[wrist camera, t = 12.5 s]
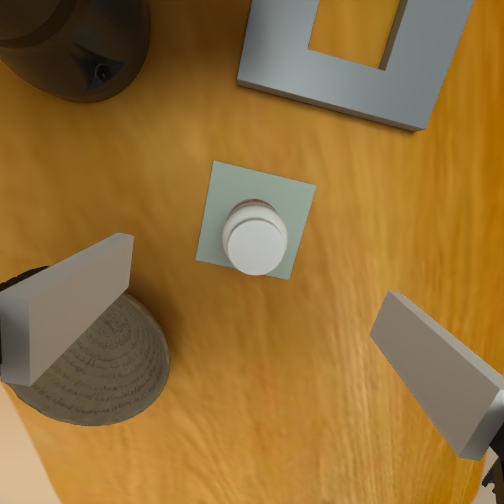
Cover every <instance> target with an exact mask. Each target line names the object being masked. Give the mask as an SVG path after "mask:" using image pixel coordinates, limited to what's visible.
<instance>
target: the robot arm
mask: <svg viewBox="0 0 504 504" xmlns="http://www.w3.org/2000/svg"><path fill="white" fill-rule="evenodd" d="M149 39H150V14H149V7H148V2H147V0H0V59H1V60H2V61H3V62H4V63H5V64H6V65H8V66H9V67H10V68H11V69H12V70H13V71H14V72H15V73H16V74H18V75H19V76H20V77H21V78H23V79H24V80H26V81H27V82H29V83H30V84H32V85H33V86H35V87H37V88H39V89H41V90H43V91H45V92H48V93H50V94H53V95H55V96H58V97H60V98H63V99H66V100H70V101H75V102H96V101H101V100H104V99H107V98H110V97H112V96H114V95H116V94H117V93H119V92H121V91H122V90H123V89H124V88H126V87H127V86H128V85H129V84H130V83H131V82H132V80H133V79H134V78H135V77H136V75H137V74H138V72H139V70H140V68H141V66H142V64H143V62H144V59H145V57H146V53H147V50H148V45H149ZM133 242H134V236H133V235H129V234H124V233H119V232H118V233H116V234H114V235H112V236H110V237H108V238H106V239H104V240H102V241H100V242H98V243H96V244H94V245H92V246H90V247H88V248H86V249H84V250H82V251H80V252H78V253H76V254H74V255H72V256H70V257H68V258H66V259H64V260H62V261H60V262H58V263H56V264H54V265H52V266H50V267H49V266H44V267H40V268H36V269H31V270H29V271H26V272H24V273H22V274H20V275H18V276H17V277H14V278H12V279H10V280H7V282H6V283H5V282H3V283H1V284H0V365H1V382H6V383H12V384H18V385H24V386H31V385H32V384H33V383H34V382H35V381H36V380H37V379H38V378H39V377H40V376H41V375H42V374H43V373H44V372H45V371H46V370H47V369H48V368H49V367H50V366H51V365H52V364H53V363H54V362H55V361H56V360H57V359H58V358H59V357H60V356H61V355H62V354H63V353H64V352H65V351H66V350H67V349H68V348H69V347H70V346H71V345H72V344H73V343H74V342H75V340H76V339H77V338H78V337H79V336H80V335H81V334H82V333H83V332H84V331H85V330H86V329H87V328H88V327H89V326H90V325H91V324H92V323H93V322H94V321H95V320H96V319H97V318H98V317H99V316H100V315H101V314H102V313H103V312H104V311H105V310H106V309H107V308H108V307H109V306H110V305H111V304H112V303H113V302H114V301H115V300H116V299H117V298H118V297H119V296H120V295H121V294H122V293H123V292H124V291H125V290H126V289H127V288H128V287H129V279H130V270H131V261H132V251H133ZM370 336H371V338H372V339H373V340H374V342H375V343H376V345H377V346H378V347H379V349H380V350H381V352H382V353H383V354H384V356H385V357H386V358H387V360H388V361H389V363H390V364H391V365H392V367H393V368H394V369H395V371H396V372H397V374H398V375H399V376H400V378H401V379H402V380H403V382H404V383H405V385H406V386H407V387H408V389H409V390H410V392H411V393H412V394H413V396H414V397H415V398H416V400H417V401H418V403H419V404H420V405H421V407H422V408H423V409H424V411H425V412H426V414H427V415H428V416H429V418H430V419H431V420H432V422H433V423H434V425H435V426H436V427H437V429H438V430H439V432H440V433H441V434H442V436H443V437H444V438H445V440H446V441H447V443H448V444H449V445H450V447H451V448H452V449H453V451H454V452H455V454H456V455H457V456H458V457H460V458H466V459H472V460H478V461H480V460H481V458H482V457H483V455H484V454H485V452H486V451H487V449H488V448H489V446H490V447H491V448H492V449H493V451H494V452H495V453H496V454H497V455H498V456H499V457H498V458H497V460H496V461H495V463H494V464H493V466H492V467H491V469H490V470H489V472H488V473H487V475H486V476H485V477H484V479H483V481H482V485H483V486H485V487H486V486H487V485H488V483H494V484H495V487H494V489H493V490H492V492H493V493H495V494H496V503H497V504H504V377H503V376H502V375H500V374H499V373H498V372H497V371H496V370H494V369H493V368H492V367H491V366H489V365H488V364H487V363H486V362H485V361H483V360H482V359H481V358H480V357H479V356H477V355H476V354H475V353H474V352H472V351H471V350H470V349H469V348H468V347H466V346H465V345H464V344H463V343H461V342H460V341H459V340H458V339H457V338H455V337H454V336H453V335H452V334H451V333H449V332H448V331H447V330H446V329H444V328H443V327H442V326H441V325H440V324H438V323H437V322H436V321H435V320H433V319H432V318H431V317H430V316H429V315H427V314H426V313H425V312H424V311H423V310H421V309H420V308H419V307H418V306H416V305H415V304H414V303H413V302H412V301H410V300H409V299H408V298H407V297H405V296H404V295H403V294H402V293H398V292H393V291H389V290H388V292H387V294H386V296H385V299H384V301H383V304H382V306H381V308H380V311H379V313H378V316H377V318H376V320H375V323H374V325H373V328H372V330H371V332H370Z"/></svg>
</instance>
